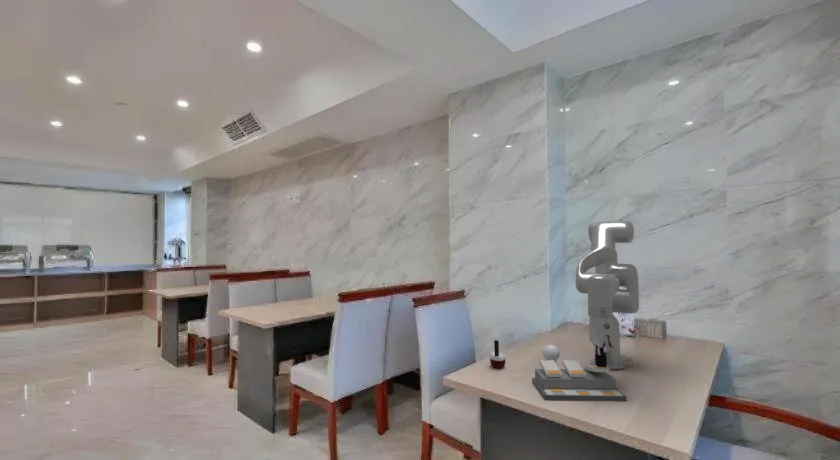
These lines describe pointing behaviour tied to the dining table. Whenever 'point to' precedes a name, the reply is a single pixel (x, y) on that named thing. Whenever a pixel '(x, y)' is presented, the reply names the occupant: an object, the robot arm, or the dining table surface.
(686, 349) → the dining table surface
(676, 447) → the dining table surface
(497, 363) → the cocoa
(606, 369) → the switch
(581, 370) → the switch
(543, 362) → the switch
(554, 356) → the lightbulb
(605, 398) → the switch unit
